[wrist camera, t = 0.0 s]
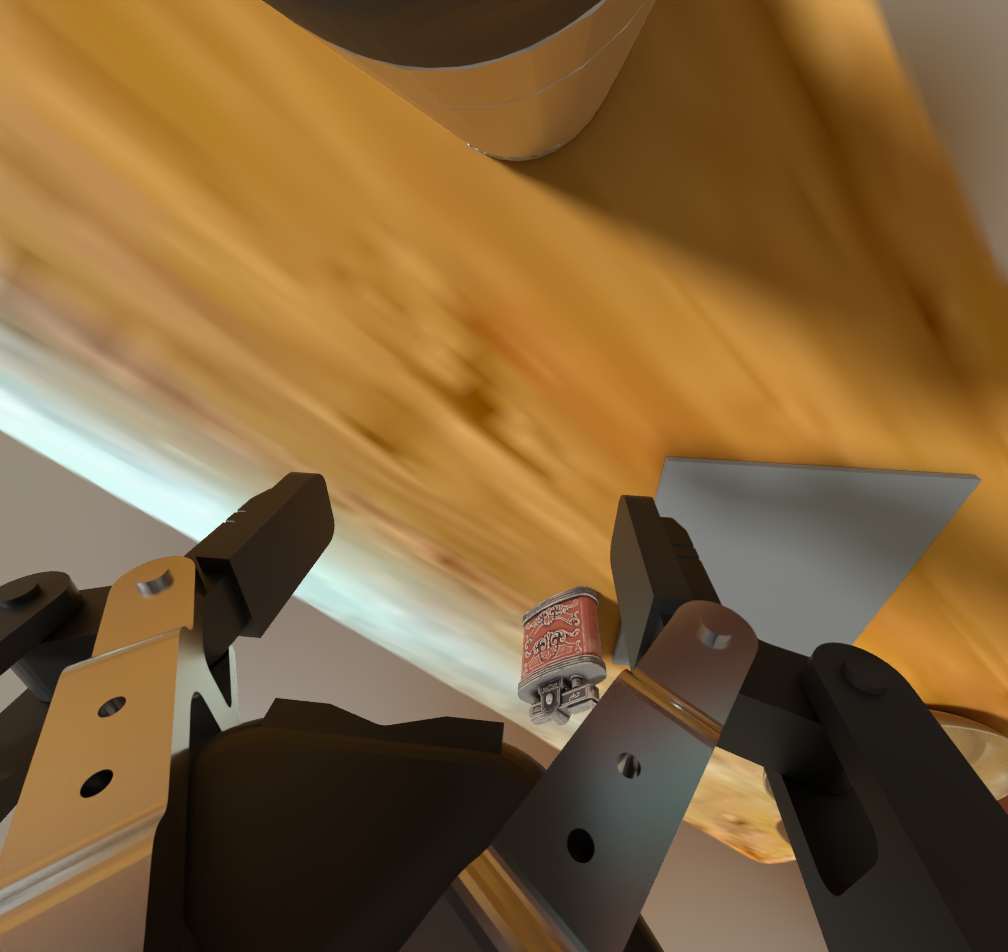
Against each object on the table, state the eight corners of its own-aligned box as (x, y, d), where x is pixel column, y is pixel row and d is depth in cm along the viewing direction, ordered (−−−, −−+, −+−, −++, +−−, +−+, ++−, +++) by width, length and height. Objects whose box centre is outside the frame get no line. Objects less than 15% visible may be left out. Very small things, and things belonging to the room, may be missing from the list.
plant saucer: (805, 806, 57) (817, 837, 54) (714, 731, 49) (724, 763, 46) (1029, 766, 46) (1059, 802, 44) (962, 662, 38) (994, 698, 35)
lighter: (537, 633, 41) (534, 741, 33) (515, 615, 40) (505, 723, 32) (605, 600, 38) (620, 713, 29) (582, 580, 37) (592, 691, 28)
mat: (666, 456, 29) (668, 461, 28) (973, 474, 28) (981, 479, 27) (612, 658, 42) (612, 664, 42) (817, 678, 41) (821, 683, 40)
